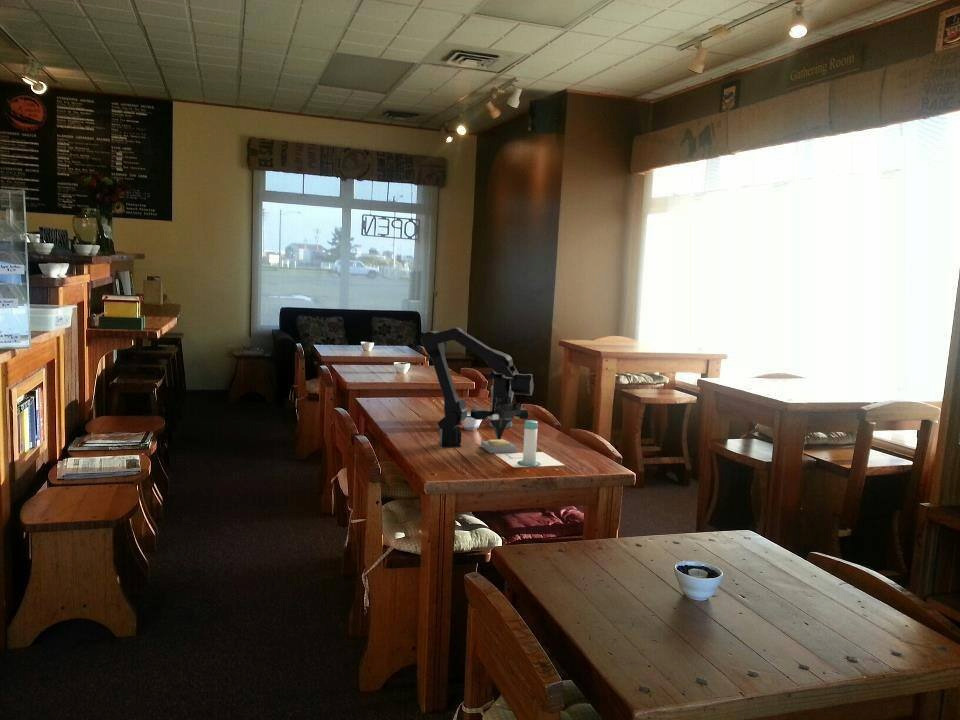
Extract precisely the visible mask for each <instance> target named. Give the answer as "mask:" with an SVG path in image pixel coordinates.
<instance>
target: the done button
mask: <svg viewBox="0 0 960 720" xmlns="http://www.w3.org/2000/svg"><path fill="white" fill-rule="evenodd" d="M487 441H488V443H489V444H491V445H492V446H509V444H510V443H511V442H510V441H509V442H510V443H509V442H507V441H508V440H507V441H506V440H505V439H503V438H502V439H499V440H498V439H488V440H487Z"/></svg>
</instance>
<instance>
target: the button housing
mask: <svg viewBox="0 0 960 720" xmlns="http://www.w3.org/2000/svg"><path fill="white" fill-rule="evenodd" d="M488 441H489V440H482V441H481V445H480V446H481V448H483V449H484V450H485V451H487V452H488V454H501V453H517V445H515V444H514V443H512V442H510V441H508V440H506V441H507V442H509V443H510V444H509V446H492V445H491V444H489V443H488Z"/></svg>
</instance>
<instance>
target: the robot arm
mask: <svg viewBox="0 0 960 720" xmlns="http://www.w3.org/2000/svg"><path fill="white" fill-rule="evenodd" d="M420 341H421V345H422V347H423V349H424V350H425V353H426V354H427V355H428V357H429V358H430V360H431V362H432V365H433V368H434V370H435V375H436V377H437V382H438V385H439V387H440V389H441V393H442V397H443V399H444V400H443V401H444V403H443V411H444V417H442V418H441V419H440V420H439V421H438V422H437V424H438V427H439V440H438V441H437V444H438V445H439V446H441V447H442V448H457V447H462V431H461V427H460V426H461V424H462V423H463V421H465V420H466V418H467V417H468V411H469V408H468V406H467V404H466V399H465V398H462V399H461V398H460V397H459V396H458V394H457V391H456V388H455V385H454V384H455V383H454V382H453V378H452V375H451V372H450V369H449V364H448V362H447V360H446V359H447V358H446V356H445V355H446V354H445V351H446V350H445V349H446V345H445V343H446V342H451V341H455V342H456V343H458V344H460V345H461V346H463V347H465V349H467V350H469V351H471V352H472V353H473V354H475V355H477V356H478V357H480V358H481V359H482V360H484V361H485V362H486V364H487V365H488V366H489V367H490V368H491V369H492V371H491V372H490V373H489V374H488V375H487V376H486V378H487V379H492V386H493V390H492V394H491V393H490V398H491V406H489V407H490V410H487V409H486V408H483V407H479V408H478V407H476V408H474V407H473V408H471V410H470V417H471V418H472V419H474V420H479V421H481V420H483V421H484V420H486V419H487V420H488V421H489V422H490V421H491V424H492V426H493V427H492V428H493V431H494V434H495V437H496V440H499V439H501V438H502V436H503V434H504V431H505V429H506V428H505V427H506V425H507V424H508V423H509V422H511V421H512V422H513V419H515V417H518V418H519V419H520V420H529V419H530V411H529V410H528V409H527V408H524V407H522V405H521V403H520V402H518V403H517V402H515V403H513V402H512V403H511V397H510V384H511V390H512V392H514V395H522V396H523V395H525V396H532V395H533V393H534V386H535V383H534V378H533V374H532V373H526V374H525V373H524V374H523V373H519V371H518V370H517V368H516V367H515V365H514V361H513V358H512V356H511V355H509V354H507V353H504V351H503V352H502V351H500V350H497V349H493V348H491V347H489V346H488V345H486V344H484V343H483V342H481V341H480V340H478V339H477V338H475V337H474V336H472V335H470V334H469V333H467V332H466V331H464V330H463V328H461V327H452V328H451V329H447V330H445V331H444V330H443V331H439V330H432V331H431V330H430V331H427V332H425V333H423V335H422V336H421V339H420ZM495 413H496V414H495ZM499 416H500V417H499Z"/></svg>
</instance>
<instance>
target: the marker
mask: <svg viewBox="0 0 960 720" xmlns="http://www.w3.org/2000/svg"><path fill="white" fill-rule="evenodd" d="M538 423H539V421H538V420H532V419H531V420H529V419H526V420H524V430H523V431H524V432H523V446H522V447H523V448H522V453H523V464H527V465H533V464H536V452H537V447H538V446H537V443H538V425H539V424H538Z"/></svg>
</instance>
